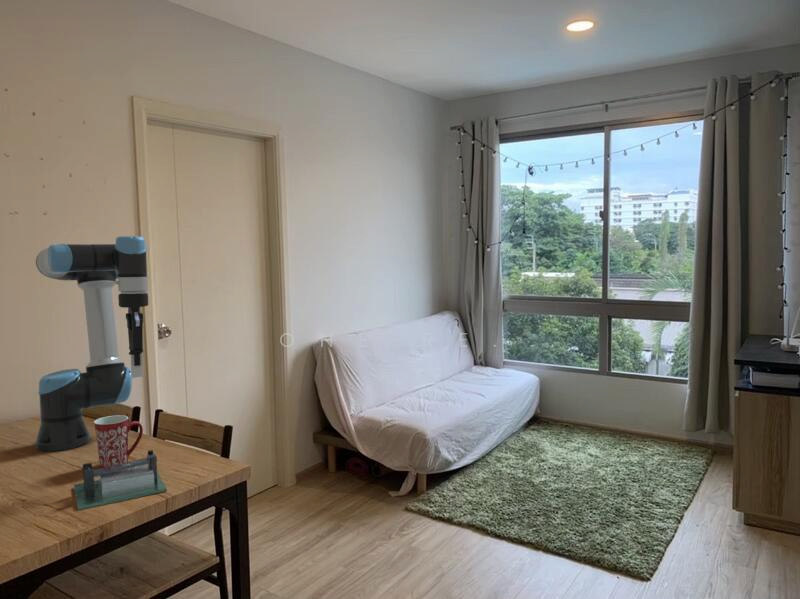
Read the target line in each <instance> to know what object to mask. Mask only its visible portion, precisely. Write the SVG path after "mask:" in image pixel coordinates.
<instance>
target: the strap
mask: <svg viewBox="0 0 800 599" xmlns="http://www.w3.org/2000/svg"><path fill="white" fill-rule="evenodd" d="M155 455H156V454H155V453H153V454H150V455H148V454H146V457H144V458H140V459H135V460H131V461H128V462H126V463H122V464H117V465H113V466H109V467H105V468H96V469H93V471H94V478H95V477H98V476H100V475H104V474H108V473H112V472H116V471H120V470H124V469H129V468H133V467H137V466H141V465H145V464H149V463H151V456H155ZM156 461H157V462H158V459H157V456H156Z"/></svg>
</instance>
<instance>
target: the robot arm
mask: <svg viewBox="0 0 800 599" xmlns="http://www.w3.org/2000/svg"><path fill="white" fill-rule="evenodd" d="M147 250H148V248H147V245H146V239H145V238H144V236H141V235H140V236H135V235H133V236H132V235H130V236H129V235H128V236H127V235H126V236H125V235H123V236H117V237H116V239H115V243H107V244H105V243H102V244H101V243H100V244H99V243H96V244H95V243H93V244H84V243H83V244H81V243H80V244H79V243H78V244H77V243H76V244H75V243H74V244H72V243H71V244H68V243H67V244H66V243H59V244H57V243H56V244H51V245H49V246H48V247H47V248H44V249H42V250H40V252H39V253H38V254H37V256H36V259H35V266H36V268H37V270H38V272H39V273H40V274H41V275H43V276H45V277H47V278H49V279H52V280H57V281H77V287H78V288H80V289H81V290H82V291H83V299H84V300H83V302H84V310H85V320H86V330H87V339H88V340H87V341H88V351H89V362H88V364H87V365H86V366H85V372H81V370H80V369H78V368H70V369H62V370H59V371H54V372H51V373H48V374H46V375H44V376H42V377H41V378H40V379H39V381H38V391H37V392H38V396H39V412H40V413H39V414H40V425H39V429H38V432H37V435H36V438H35V448H36V450H37V451H42V452H59V451H60V452H61V451H66V450H70V449H75V448H78V447H81V446H84V445H86V444H89V442H90V440H91V437H90V436H91V435H90V430H89V429H88V426H87V424H86V422H85V420H84V417H83V409H90V408H98V407H102V406H104V407H105V406H111V405H112V406H113V405H114V406H115V405H116V404H122V403H126V401H127V400H128V399H129V398H130V396H131V391H132V385H133V379H135V378H143V377H144V375H143V374H144V373H143V372H144V369H143V354H142V353H144V348H143V346H144V345H143V342H144V341H143V338H144V336H143V328H144V326H143V323H144V314H143V313H142V312H141V309H140V308H144V307H148V306H149V293H148V292H147V291H149V284H148V283H149V282H148V278H149V277H148V267H147ZM116 285H117V291H118V292H119V294H118V295H117V297H118V306H119V308H125V309H126V308H127V313H125V320H126V327H127V333H128V334H127V335H128V349H129V352H128V355H129V356H130V367H127V366H125V361H124V360H122V359H121V358H120V356H119V348H118V347H119V346H118V338H117V337H118V336H117V328H116V326H117V325H116V320H115V309H114V301H113V298H114V297H113V287H114V286H116Z"/></svg>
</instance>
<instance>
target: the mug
mask: <svg viewBox="0 0 800 599" xmlns="http://www.w3.org/2000/svg"><path fill="white" fill-rule="evenodd" d="M128 422H129V417H128V416H127V415H121V414H118V415H117V414H116V415H109V416H103V417H99V418H97V419H95V420H93V426H94V429H95V438H96V445H97V453H98V462H99V467H100V468H105V467H109V466H113V465H117V464H122V463H126V462H129V456H131V454H132V453H133V452H134V450H135V449H136V448H137V446H138V444H140V441H141V439H142V437H143V433H144V432H143V431H144V428H143V425H142V423H140V422H139V421H138V420H137V421H136V420H134V421H131V422H129V423H128ZM133 426H138V429H139V433H138V435H137V438H136V440H135V442H134V443H133V444H132V446H131V447H130V448H128V446H129V442H128V441H129V438H128V437H129V432H130V430H131V428H132V427H133ZM100 468H99V469H100Z"/></svg>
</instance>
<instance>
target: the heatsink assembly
mask: <svg viewBox="0 0 800 599" xmlns="http://www.w3.org/2000/svg"><path fill="white" fill-rule="evenodd" d="M150 454H154V450H153V449H150V450H147V455H150ZM156 457H157V455H156V454H155V456H151V463H149V464H145V465H141V466H137V467H133V468H129V469H124V470H120V471H116V472H112V473H108V474H104V475H100V476H97V477H98V479H97V480H95V477H94V471H93V470H94V468H93V463H92V462H87V463H83V464H82V475H83V482H81V483H76V484H73V486H74V487H73V488H74V493H75V499H76V501H75V502H76V506H77V510H78V511H80V510H84V509H88V508H94V507H98V506H99V507H100V506H103V505H109V504H113V503H114V504H115V503H118V502H123V501H127V500H132V499H137V498H141V497H146V496H151V495H155V494H161V493H166V492H167V493H168V489H167V486H166V485H165V482H164V481H163V479H162V477H161V476H160V474H159V472H158V467H157V466H158V465H157V464H158V460H157V461H156Z"/></svg>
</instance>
